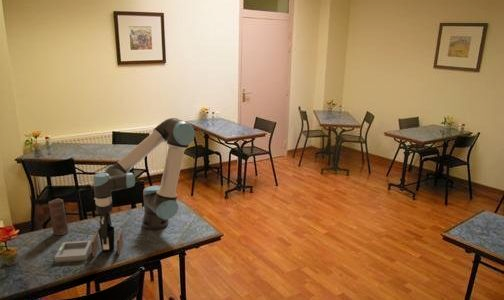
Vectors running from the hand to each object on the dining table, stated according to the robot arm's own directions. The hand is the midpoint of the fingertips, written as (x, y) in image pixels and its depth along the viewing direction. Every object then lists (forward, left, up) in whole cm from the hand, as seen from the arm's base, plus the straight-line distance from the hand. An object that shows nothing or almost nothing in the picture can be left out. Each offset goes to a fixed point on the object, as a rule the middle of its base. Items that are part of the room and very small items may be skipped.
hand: (107, 244), depth 191 cm
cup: (0, 0, -3) cm, 3 cm away
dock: (+16, +1, -3) cm, 16 cm away
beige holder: (0, 0, -3) cm, 3 cm away
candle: (+29, -22, -3) cm, 37 cm away
